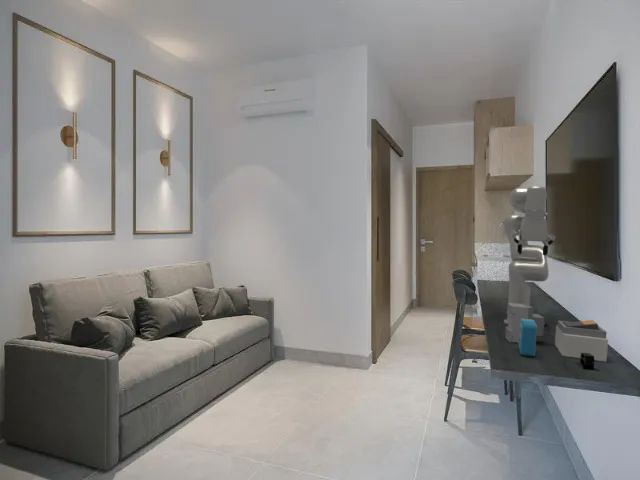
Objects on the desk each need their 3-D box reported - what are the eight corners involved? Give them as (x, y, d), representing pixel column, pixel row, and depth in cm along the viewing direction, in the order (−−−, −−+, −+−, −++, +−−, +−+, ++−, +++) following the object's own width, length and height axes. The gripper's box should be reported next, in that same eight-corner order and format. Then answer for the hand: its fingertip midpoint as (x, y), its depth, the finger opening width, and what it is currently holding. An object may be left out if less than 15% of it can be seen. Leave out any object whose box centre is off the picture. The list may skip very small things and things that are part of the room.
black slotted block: (569, 360, 152) (570, 348, 152) (591, 363, 151) (592, 350, 150) (582, 371, 140) (583, 358, 140) (606, 374, 139) (607, 361, 138)
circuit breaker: (546, 345, 169) (549, 309, 169) (509, 342, 172) (511, 306, 171) (541, 340, 177) (543, 305, 176) (505, 337, 179) (507, 302, 179)
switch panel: (554, 344, 171) (556, 319, 171) (594, 349, 166) (596, 323, 166) (562, 355, 156) (564, 328, 156) (606, 361, 151) (608, 333, 151)
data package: (518, 347, 165) (520, 317, 164) (531, 349, 163) (533, 319, 162) (521, 356, 153) (523, 323, 153) (534, 358, 152) (537, 325, 151)
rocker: (564, 326, 166) (563, 322, 166) (593, 324, 162) (592, 319, 162) (568, 330, 159) (567, 325, 159) (598, 328, 156) (597, 323, 156)
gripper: (554, 216, 181) (552, 255, 181) (511, 214, 186) (509, 253, 186) (559, 215, 174) (556, 256, 174) (514, 214, 178) (511, 253, 179)
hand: (532, 254), depth 180 cm, fingers open, 9 cm apart
